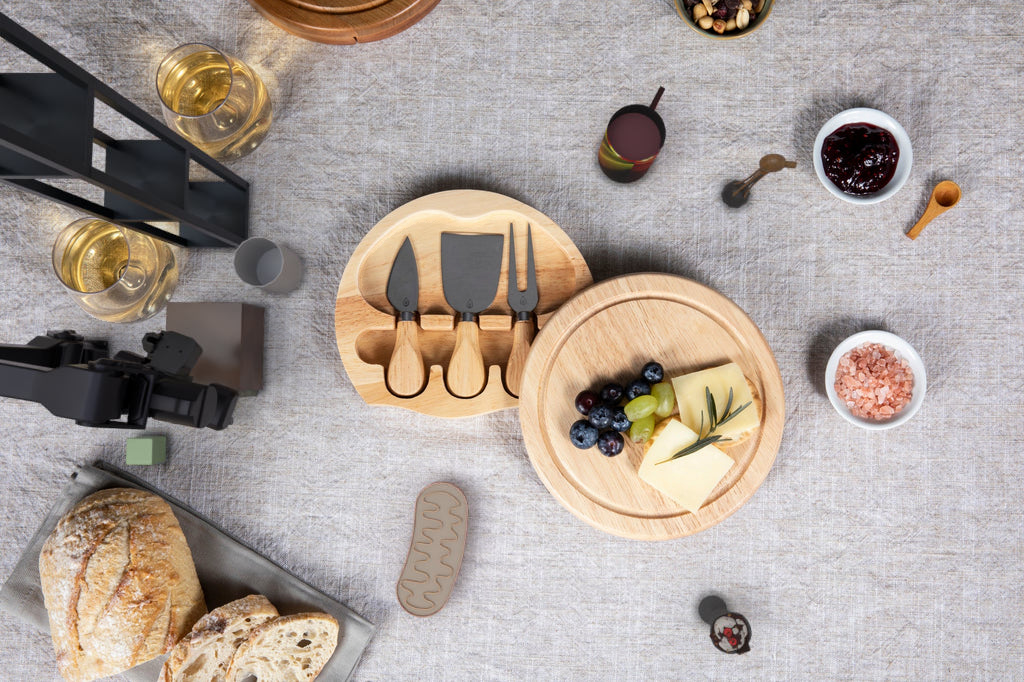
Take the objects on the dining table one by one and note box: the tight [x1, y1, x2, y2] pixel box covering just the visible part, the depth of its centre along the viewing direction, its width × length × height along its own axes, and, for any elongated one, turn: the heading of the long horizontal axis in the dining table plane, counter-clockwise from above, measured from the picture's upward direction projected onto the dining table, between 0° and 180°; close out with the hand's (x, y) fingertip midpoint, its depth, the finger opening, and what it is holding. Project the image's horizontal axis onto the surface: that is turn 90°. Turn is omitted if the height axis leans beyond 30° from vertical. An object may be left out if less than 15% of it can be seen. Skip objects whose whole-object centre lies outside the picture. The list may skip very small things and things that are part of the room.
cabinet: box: [165, 301, 265, 391], centre depth 114 cm, size 15×13×10 cm
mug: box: [597, 85, 667, 184], centre depth 114 cm, size 10×14×12 cm
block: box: [125, 435, 167, 466], centre depth 116 cm, size 4×4×4 cm
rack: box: [0, 11, 250, 250], centre depth 87 cm, size 12×12×66 cm
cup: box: [232, 236, 305, 295], centre depth 115 cm, size 8×8×10 cm
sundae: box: [698, 595, 753, 656], centre depth 108 cm, size 7×7×15 cm
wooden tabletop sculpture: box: [720, 153, 798, 209], centre depth 109 cm, size 6×5×20 cm
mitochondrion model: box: [395, 481, 469, 619], centre depth 114 cm, size 23×10×5 cm, turn 167°
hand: (199, 388), depth 106 cm, fingers open, 9 cm apart
